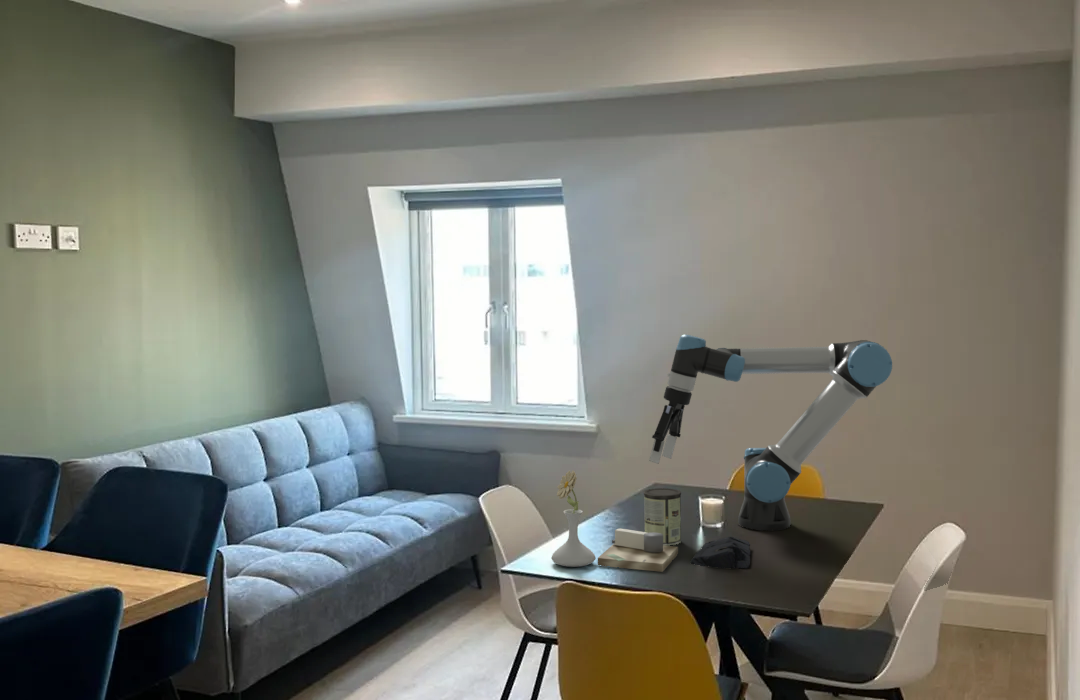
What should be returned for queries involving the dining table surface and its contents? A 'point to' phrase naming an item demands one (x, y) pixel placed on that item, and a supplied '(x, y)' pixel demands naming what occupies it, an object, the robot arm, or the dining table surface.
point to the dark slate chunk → (724, 554)
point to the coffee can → (663, 514)
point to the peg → (639, 540)
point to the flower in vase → (572, 530)
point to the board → (637, 558)
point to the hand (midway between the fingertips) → (660, 459)
